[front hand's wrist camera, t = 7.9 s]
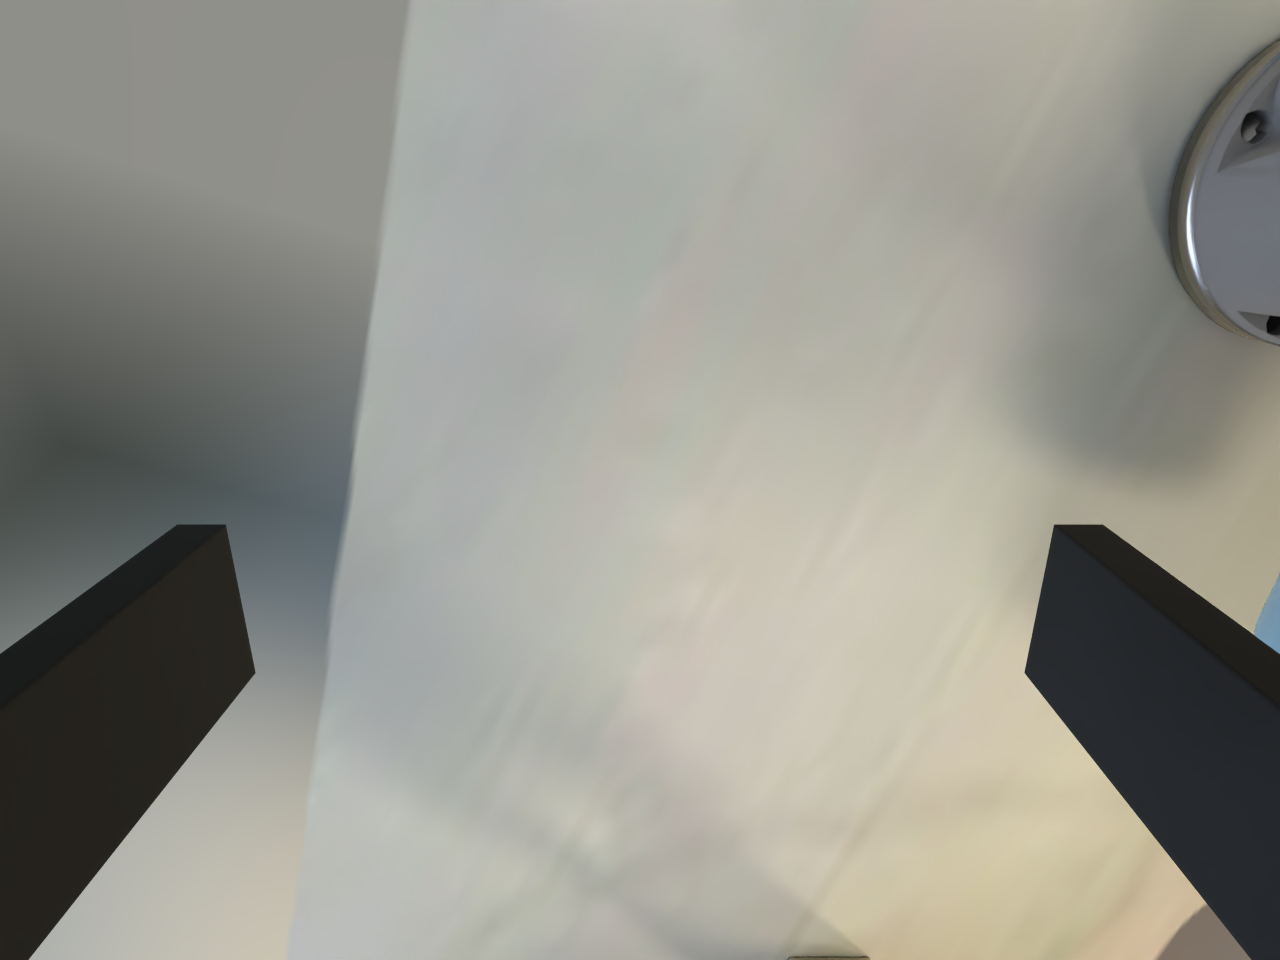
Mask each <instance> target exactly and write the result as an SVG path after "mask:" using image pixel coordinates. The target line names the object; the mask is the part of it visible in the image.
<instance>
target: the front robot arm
mask: <svg viewBox="0 0 1280 960" xmlns="http://www.w3.org/2000/svg"><path fill="white" fill-rule="evenodd" d="M1169 236H1170V244H1171V251H1172V255H1173V260H1174V264H1175V267H1176V270H1177V272H1178V275H1179V278H1180V280H1181V282H1182V284H1183V286H1184V288H1185V290H1186V291H1187V293H1188V294H1189V296H1190V297H1191V299H1192V300H1193V301H1194V303H1195V304H1196V305H1197V306H1198V307H1199V309H1200V310H1201V311H1202V312H1204V313H1205V314H1206V315H1207V316H1208V317H1209V318H1210V319H1211V320H1213V321H1214V322H1216V323H1217V324H1218V325H1220V326H1222V327H1223V328H1225V329H1227V330H1229V331H1231V332H1233V333H1235V334H1238V335H1240V336H1243V337H1246V338H1250V339H1253V340H1257V341H1261V342H1265V343H1269V344H1273V345H1277V346H1280V40H1278V41H1277V42H1275V43H1274V44H1273V45H1271V46H1270V47H1268V48H1267V49H1265V50H1264V51H1263V52H1262V53H1260V54H1259V55H1258V56H1257V57H1255V58H1254V59H1253V60H1252V61H1250V62H1249V63H1248V64H1247V65H1246V66H1245V67H1244V68H1243V69H1242V70H1241V71H1240V72H1239V73H1238V74H1237V75H1236V76H1235V77H1234V78H1233V79H1232V80H1231V81H1230V82H1229V83H1228V84H1227V86H1226V87H1225V88H1224V89H1223V90H1222V91H1221V93H1220V94H1219V95H1218V96H1217V98H1216V99H1215V100H1214V102H1213V103H1212V104H1211V106H1210V107H1209V109H1208V110H1207V112H1206V113H1205V115H1204V116H1203V118H1202V119H1201V121H1200V122H1199V124H1198V126H1197V128H1196V130H1195V131H1194V133H1193V135H1192V137H1191V139H1190V141H1189V143H1188V146H1187V148H1186V150H1185V152H1184V155H1183V157H1182V160H1181V163H1180V166H1179V168H1178V171H1177V175H1176V179H1175V183H1174V186H1173V192H1172V197H1171V203H1170V215H1169ZM254 674H255V668H254V663H253V658H252V653H251V648H250V643H249V638H248V633H247V628H246V623H245V618H244V613H243V609H242V603H241V598H240V593H239V588H238V583H237V579H236V573H235V568H234V563H233V559H232V554H231V549H230V544H229V539H228V534H227V529H226V525H176V526H175V527H173V528H172V529H171V530H169V531H168V532H167V533H165V534H164V535H163V536H161V537H160V538H158V539H157V540H156V541H154V542H153V543H152V544H150V545H149V546H147V547H146V548H145V549H143V550H142V551H141V552H139V553H138V554H137V555H135V556H134V557H132V558H131V559H130V560H128V561H127V562H126V563H124V564H123V565H121V566H120V567H119V568H117V569H116V570H115V571H113V572H112V573H110V574H109V575H108V576H106V577H105V578H104V579H102V580H101V581H100V582H98V583H97V584H95V585H94V586H93V587H91V588H90V589H89V590H87V591H86V592H84V593H83V594H82V595H80V596H79V597H78V598H76V599H75V600H73V601H72V602H71V603H69V604H68V605H67V606H65V607H64V608H63V609H61V610H60V611H58V612H57V613H56V614H54V615H53V616H52V617H50V618H49V619H48V620H46V621H45V622H43V623H42V624H41V625H39V626H38V627H37V628H35V629H34V630H32V631H31V632H30V633H28V634H27V635H26V636H24V637H23V638H21V639H20V640H19V641H17V642H16V643H15V644H13V645H12V646H10V647H9V648H8V649H6V650H5V651H4V652H2V653H1V654H0V960H29V958H30V957H31V956H32V954H33V953H34V952H35V951H36V950H37V948H38V947H39V946H40V944H41V943H42V942H43V941H44V939H45V938H46V937H47V936H48V934H49V933H50V932H51V931H52V929H53V928H54V927H55V925H56V924H57V923H58V922H59V920H60V919H61V918H62V917H63V915H64V914H65V913H66V912H67V910H68V909H69V908H70V907H71V905H72V904H73V903H74V901H75V900H76V899H77V898H78V896H79V895H80V894H81V893H82V891H83V890H84V889H85V888H86V886H87V885H88V884H89V883H90V881H91V880H92V879H93V877H94V876H95V875H96V874H97V872H98V871H99V870H100V869H101V867H102V866H103V865H104V864H105V862H106V861H107V860H108V858H109V857H110V856H111V855H112V853H113V852H114V851H115V850H116V848H117V847H118V846H119V845H120V843H121V842H122V841H123V840H124V838H125V837H126V836H127V835H128V833H129V832H130V831H131V829H132V828H133V827H134V826H135V824H136V823H137V822H138V821H139V819H140V818H141V817H142V816H143V814H144V813H145V812H146V811H147V809H148V808H149V807H150V805H151V804H152V803H153V802H154V800H155V799H156V798H157V797H158V795H159V794H160V793H161V792H162V790H163V789H164V788H165V786H166V785H167V784H168V783H169V781H170V780H171V779H172V778H173V776H174V775H175V774H176V773H177V771H178V770H179V769H180V768H181V766H182V765H183V764H184V762H185V761H186V760H187V759H188V757H189V756H190V755H191V754H192V752H193V751H194V750H195V749H196V747H197V746H198V745H199V744H200V742H201V741H202V740H203V738H204V737H205V736H206V735H207V733H208V732H209V731H210V730H211V728H212V727H213V726H214V724H215V723H216V722H217V721H218V720H219V718H220V717H221V716H222V714H223V713H224V712H225V711H226V709H227V708H228V707H229V706H230V704H231V703H232V702H233V701H234V699H235V698H236V697H237V696H238V694H239V693H240V692H241V690H242V689H243V688H244V687H245V685H246V684H247V683H248V682H249V680H250V679H251V678H252V677H253V675H254ZM1025 674H1026V675H1027V677H1028V678H1029V679H1030V680H1031V682H1032V683H1033V684H1034V685H1035V687H1036V688H1037V689H1038V690H1039V692H1040V693H1041V694H1042V696H1043V697H1044V698H1045V699H1046V701H1047V702H1048V703H1049V704H1050V706H1051V707H1052V708H1053V709H1054V711H1055V712H1056V713H1057V714H1058V716H1059V717H1060V718H1061V720H1062V721H1063V722H1064V723H1065V725H1066V726H1067V727H1068V728H1069V730H1070V731H1071V732H1072V733H1073V735H1074V736H1075V737H1076V738H1077V740H1078V741H1079V742H1080V744H1081V745H1082V746H1083V747H1084V749H1085V750H1086V751H1087V752H1088V754H1089V755H1090V756H1091V757H1092V759H1093V760H1094V761H1095V762H1096V764H1097V765H1098V766H1099V768H1100V769H1101V770H1102V771H1103V773H1104V774H1105V775H1106V776H1107V778H1108V779H1109V780H1110V781H1111V783H1112V784H1113V785H1114V786H1115V788H1116V789H1117V790H1118V792H1119V793H1120V794H1121V795H1122V797H1123V798H1124V799H1125V800H1126V802H1127V803H1128V804H1129V805H1130V807H1131V808H1132V809H1133V811H1134V812H1135V813H1136V814H1137V816H1138V817H1139V818H1140V819H1141V821H1142V822H1143V823H1144V824H1145V826H1146V827H1147V828H1148V829H1149V831H1150V832H1151V833H1152V835H1153V836H1154V837H1155V838H1156V840H1157V841H1158V842H1159V843H1160V845H1161V846H1162V847H1163V848H1164V850H1165V851H1166V852H1167V853H1168V855H1169V856H1170V857H1171V859H1172V860H1173V861H1174V862H1175V864H1176V865H1177V866H1178V867H1179V869H1180V870H1181V871H1182V872H1183V874H1184V875H1185V876H1186V877H1187V879H1188V880H1189V881H1190V883H1191V884H1192V885H1193V886H1194V888H1195V889H1196V890H1197V891H1198V893H1199V894H1200V895H1201V896H1202V898H1203V899H1204V900H1205V901H1206V903H1207V904H1208V905H1209V907H1210V908H1211V909H1212V910H1213V912H1214V913H1215V914H1216V915H1217V917H1218V918H1219V919H1220V920H1221V922H1222V923H1223V924H1224V925H1225V927H1226V928H1227V929H1228V931H1229V932H1230V933H1231V934H1232V936H1233V937H1234V938H1235V939H1236V941H1237V942H1238V943H1239V944H1240V946H1241V947H1242V948H1243V949H1244V951H1245V952H1246V953H1247V955H1248V956H1249V957H1250V958H1251V960H1280V574H1279V576H1278V578H1277V580H1276V582H1275V585H1274V587H1273V589H1272V591H1271V593H1270V595H1269V597H1268V599H1267V601H1266V603H1265V605H1264V607H1263V609H1262V611H1261V613H1260V615H1259V617H1258V620H1257V623H1256V627H1255V632H1254V635H1253V634H1252V633H1250V632H1249V631H1248V630H1246V629H1245V628H1243V627H1242V626H1241V625H1239V624H1238V623H1237V622H1235V621H1234V620H1233V619H1231V618H1230V617H1228V616H1227V615H1226V614H1224V613H1223V612H1222V611H1220V610H1219V609H1217V608H1216V607H1215V606H1213V605H1212V604H1211V603H1209V602H1208V601H1207V600H1205V599H1204V598H1202V597H1201V596H1200V595H1198V594H1197V593H1196V592H1194V591H1193V590H1191V589H1190V588H1189V587H1187V586H1186V585H1185V584H1183V583H1182V582H1180V581H1179V580H1178V579H1176V578H1175V577H1174V576H1172V575H1171V574H1170V573H1168V572H1167V571H1165V570H1164V569H1163V568H1161V567H1160V566H1159V565H1157V564H1156V563H1154V562H1153V561H1152V560H1150V559H1149V558H1148V557H1146V556H1145V555H1144V554H1142V553H1141V552H1139V551H1138V550H1137V549H1135V548H1134V547H1133V546H1131V545H1130V544H1128V543H1127V542H1126V541H1124V540H1123V539H1122V538H1120V537H1119V536H1117V535H1116V534H1115V533H1113V532H1112V531H1111V530H1109V529H1108V528H1107V527H1105V526H1104V525H1054V529H1053V534H1052V539H1051V544H1050V549H1049V554H1048V559H1047V563H1046V568H1045V573H1044V578H1043V583H1042V588H1041V593H1040V598H1039V603H1038V608H1037V613H1036V618H1035V623H1034V628H1033V633H1032V638H1031V643H1030V648H1029V653H1028V658H1027V663H1026V668H1025Z"/></svg>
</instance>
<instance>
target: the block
mask: <svg viewBox="0 0 1280 960" xmlns="http://www.w3.org/2000/svg"><path fill="white" fill-rule="evenodd" d="M789 960H870V958H866V957H790V958H789Z"/></svg>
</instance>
